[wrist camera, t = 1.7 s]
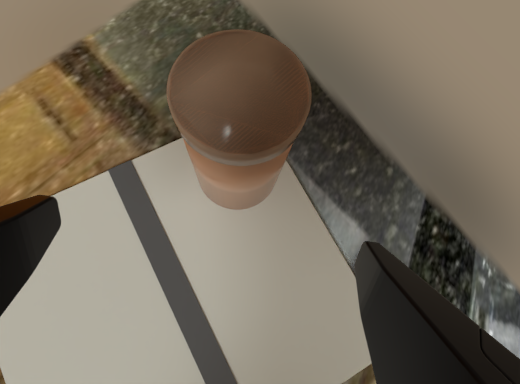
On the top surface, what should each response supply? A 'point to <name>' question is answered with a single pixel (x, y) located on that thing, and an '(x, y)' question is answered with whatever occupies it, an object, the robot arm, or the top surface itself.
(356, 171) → the top surface
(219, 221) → the mat
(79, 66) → the top surface
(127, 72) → the top surface
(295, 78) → the canister
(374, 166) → the top surface
